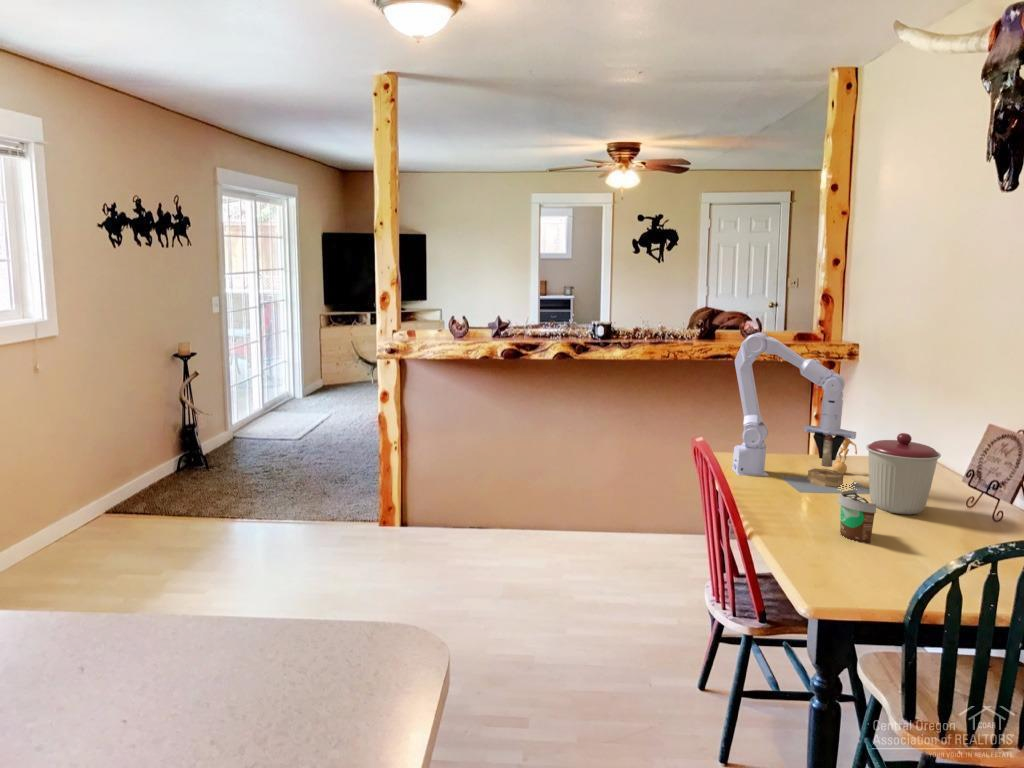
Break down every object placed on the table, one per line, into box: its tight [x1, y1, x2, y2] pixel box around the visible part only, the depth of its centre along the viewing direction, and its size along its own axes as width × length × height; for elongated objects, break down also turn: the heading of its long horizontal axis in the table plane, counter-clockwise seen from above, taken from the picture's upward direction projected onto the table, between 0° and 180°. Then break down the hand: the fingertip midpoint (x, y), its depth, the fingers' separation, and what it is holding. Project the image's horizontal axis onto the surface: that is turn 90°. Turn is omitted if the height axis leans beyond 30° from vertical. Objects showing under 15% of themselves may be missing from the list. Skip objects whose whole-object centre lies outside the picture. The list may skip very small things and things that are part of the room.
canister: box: [865, 432, 942, 515], centre depth 214 cm, size 18×18×21 cm
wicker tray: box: [807, 468, 845, 487], centre depth 238 cm, size 9×9×3 cm
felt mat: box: [779, 476, 870, 495], centre depth 236 cm, size 22×17×1 cm
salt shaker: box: [821, 435, 834, 468], centre depth 237 cm, size 3×3×10 cm
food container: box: [837, 490, 877, 544], centre depth 191 cm, size 12×6×10 cm, turn 178°
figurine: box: [832, 438, 858, 475], centre depth 250 cm, size 8×6×12 cm
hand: (827, 458), depth 237 cm, fingers closed on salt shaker, 3 cm apart
